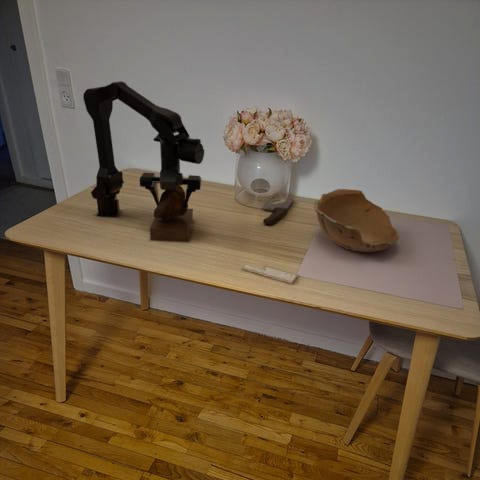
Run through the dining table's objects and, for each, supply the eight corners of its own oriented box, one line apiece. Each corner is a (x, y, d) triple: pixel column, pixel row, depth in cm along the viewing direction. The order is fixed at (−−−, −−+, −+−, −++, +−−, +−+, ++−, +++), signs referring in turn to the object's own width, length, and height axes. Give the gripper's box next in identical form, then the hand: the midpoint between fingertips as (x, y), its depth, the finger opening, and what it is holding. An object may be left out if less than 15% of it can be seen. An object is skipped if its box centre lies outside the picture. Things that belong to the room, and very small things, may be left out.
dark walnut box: (150, 240, 138) (149, 228, 136) (158, 217, 153) (158, 207, 151) (188, 241, 139) (188, 230, 137) (192, 219, 154) (192, 208, 151)
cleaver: (277, 227, 152) (278, 221, 151) (250, 222, 154) (251, 216, 153) (294, 201, 175) (295, 195, 174) (271, 197, 177) (272, 191, 176)
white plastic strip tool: (251, 262, 130) (251, 259, 129) (297, 276, 124) (298, 273, 124) (243, 269, 126) (243, 266, 125) (291, 284, 121) (291, 280, 120)
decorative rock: (181, 210, 149) (179, 179, 143) (192, 215, 145) (191, 183, 139) (151, 218, 142) (148, 185, 136) (161, 223, 138) (159, 190, 132)
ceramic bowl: (412, 257, 134) (417, 211, 126) (325, 270, 135) (324, 224, 126) (380, 221, 159) (382, 180, 151) (306, 232, 160) (304, 192, 151)
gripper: (134, 164, 126) (138, 215, 135) (199, 167, 126) (198, 218, 135) (141, 153, 135) (144, 202, 144) (201, 157, 135) (201, 205, 144)
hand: (171, 207), depth 142 cm, fingers closed on decorative rock, 8 cm apart
